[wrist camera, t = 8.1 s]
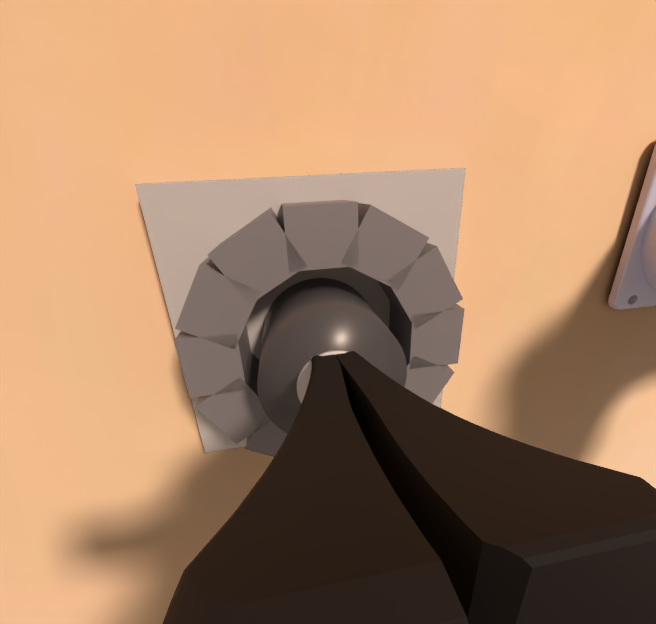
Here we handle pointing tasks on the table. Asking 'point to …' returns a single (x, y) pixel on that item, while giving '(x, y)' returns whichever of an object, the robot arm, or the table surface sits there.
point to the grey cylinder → (318, 342)
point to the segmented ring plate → (301, 276)
